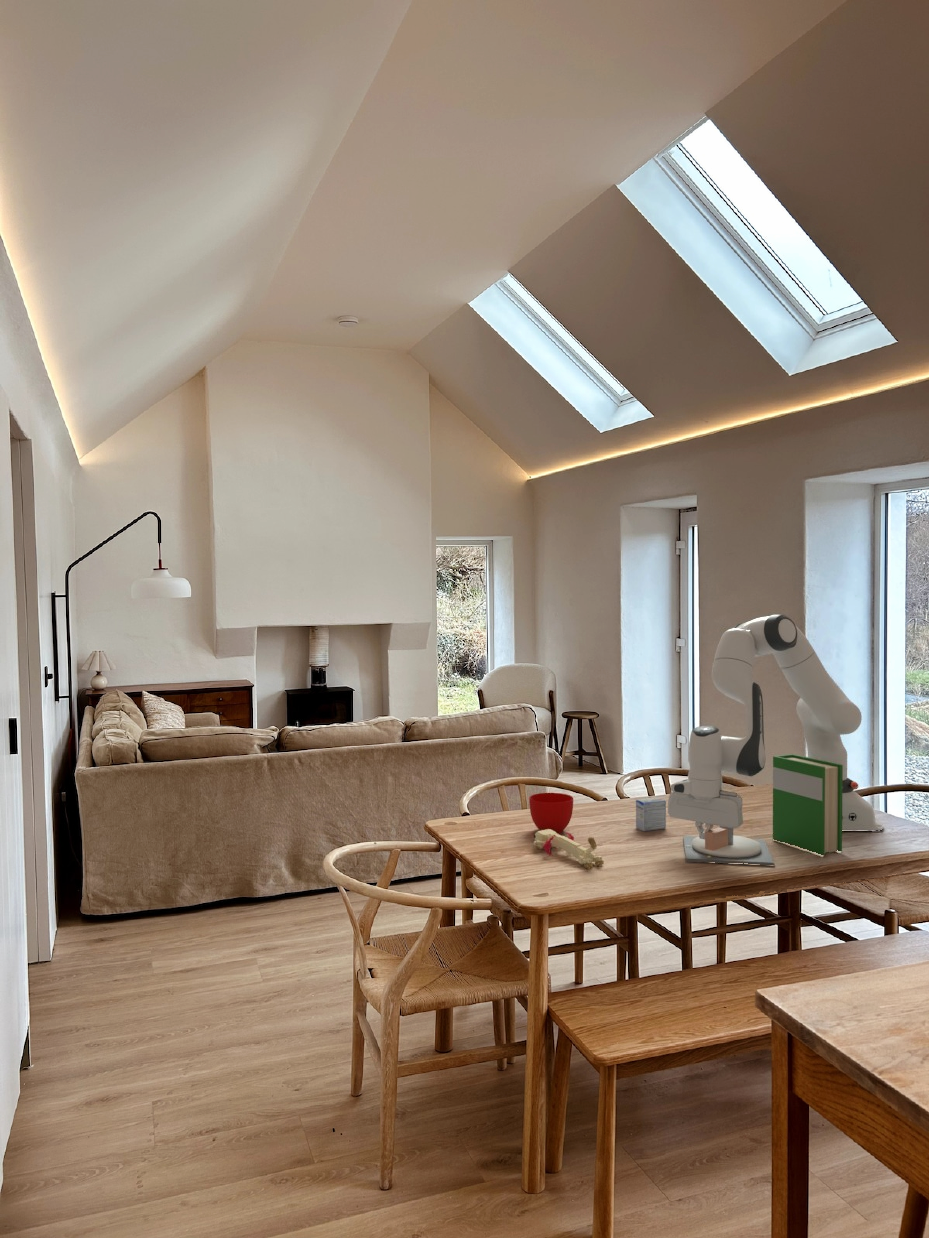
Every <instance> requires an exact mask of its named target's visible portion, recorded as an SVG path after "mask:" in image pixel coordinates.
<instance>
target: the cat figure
mask: <svg viewBox="0 0 929 1238" xmlns="http://www.w3.org/2000/svg"><path fill="white" fill-rule="evenodd" d="M566 835H568V836H564V835H561V834H560V833H559V834H557V833H556V832H555V831H553V830H551V829H547V830H541V831H540V830H537V831H536V832H535V834H533V838H534V841H533V845H534V846H536V848H537V849H539V850H541V849H543V850H544V852H546V854H547V855H549V856H552V851H551V848H557V849H558V850H562V851H564V852H566V853H568V854H570V855H571V856H573V857H574V858H576V859H577V860H578V861H577V862H578V864H581V865H583V867H584V868H585V869H587V870H590V869H592V867H594V866H593V865H595V866H597V868H598V867H602V866H603V865H604V860H603V856H601V855H596V854H595V853H593V852H594V851H595V850H596V849H597V842H596V840H595V838H594V837H592V836H590V837H588V838H587V842H588V844H589V846H588V848H586V847H585V846H582V844H581V843H578V842H576V841H575V837H574V835H572V833H570V832H566Z"/></svg>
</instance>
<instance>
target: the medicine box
mask: <svg viewBox="0 0 929 1238" xmlns="http://www.w3.org/2000/svg"><path fill="white" fill-rule="evenodd" d="M635 828H636V829H638V830H640V831H641V832H650V831H656V830H664V829H666V828H667V800H666V799H663V798H661V797H658V796H657V797H648V798H641V799H636V800H635Z"/></svg>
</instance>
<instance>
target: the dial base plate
mask: <svg viewBox="0 0 929 1238" xmlns="http://www.w3.org/2000/svg"><path fill="white" fill-rule="evenodd" d="M696 837H699V835H682V841H683V848H684V855H685V863H692V862H715V863H743V864H744V863H748V864H760V865H774V866H775V861H774V858H773V856H772V854H771V852H770V850H769V848H768V846H767V843H766V841H765V838H752V839H753V840H755V841H757V842H759V843H760V844H761V852H760V853H759V854H757V855H755V856H750V857H742V858H728V857H718V856H712V855H707V854H704V853H701V852H698V851H696V850H695V849H694V848H693V847H692V840H693V839H694V838H696Z"/></svg>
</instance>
